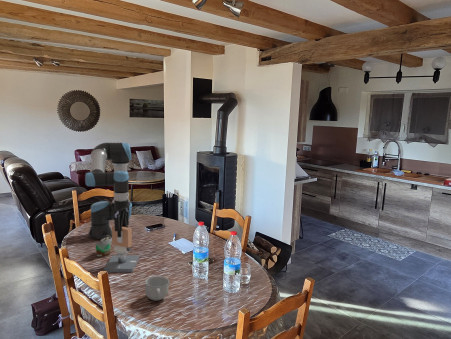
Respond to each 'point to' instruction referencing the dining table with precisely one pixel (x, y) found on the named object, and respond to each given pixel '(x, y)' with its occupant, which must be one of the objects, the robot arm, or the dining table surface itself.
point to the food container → (103, 246)
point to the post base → (121, 263)
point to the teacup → (156, 287)
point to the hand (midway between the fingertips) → (122, 240)
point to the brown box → (127, 240)
